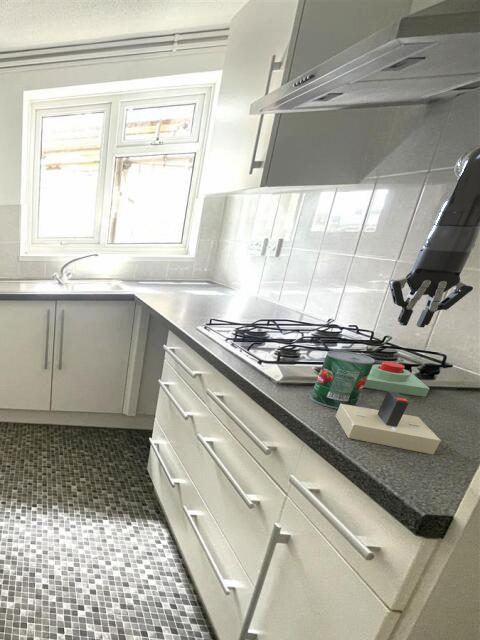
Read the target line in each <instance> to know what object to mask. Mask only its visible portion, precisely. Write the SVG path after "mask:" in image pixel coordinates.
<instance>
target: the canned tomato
mask: <svg viewBox="0 0 480 640" xmlns="http://www.w3.org/2000/svg"><path fill="white" fill-rule="evenodd" d="M374 363H376V359H375V358H373V357H372V356H368V355H365V354H362V353H360V352H359V353H358V352H354V351H349V350H329V351H327V352H326V356H325V358H324V360H323V363H322V366H321V368H320V371H319V373H318V376H317V379H316V381H315V384H314V386H313V389H312V391H311V394H310V396H309V398H310V399H311V400H312V401H313V402H314V403H316V404H317V405H321V406H323V407H327V408H330V409H334V410H338V408H339V406H340V404H346V405H351V406H357V403H358V401H359V398H360V395H361V394H362V392H363V389H364V384H365V382H366V380H367V378H368V375H369V373H370V371H371V369H372V366H373V365H375V364H374Z"/></svg>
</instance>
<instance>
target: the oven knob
mask: <svg viewBox="0 0 480 640" xmlns="http://www.w3.org/2000/svg"><path fill="white" fill-rule="evenodd" d="M408 405H409V401H408V400H407V398H404V397H403V395H401V393H397V392H390V391H386V394H385V396H384V399H383V400H382V403H381V405H380V407H379V409H378V410H379V411H378V415H379V417H380V418H381V419H382V420H383V421H384V423H385V424H386V425H390V426H396V427H397V426H398V424H399V422H400V420H401V418H402V416H403V414H404V415H405V411H406V410H407V408H408Z"/></svg>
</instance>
